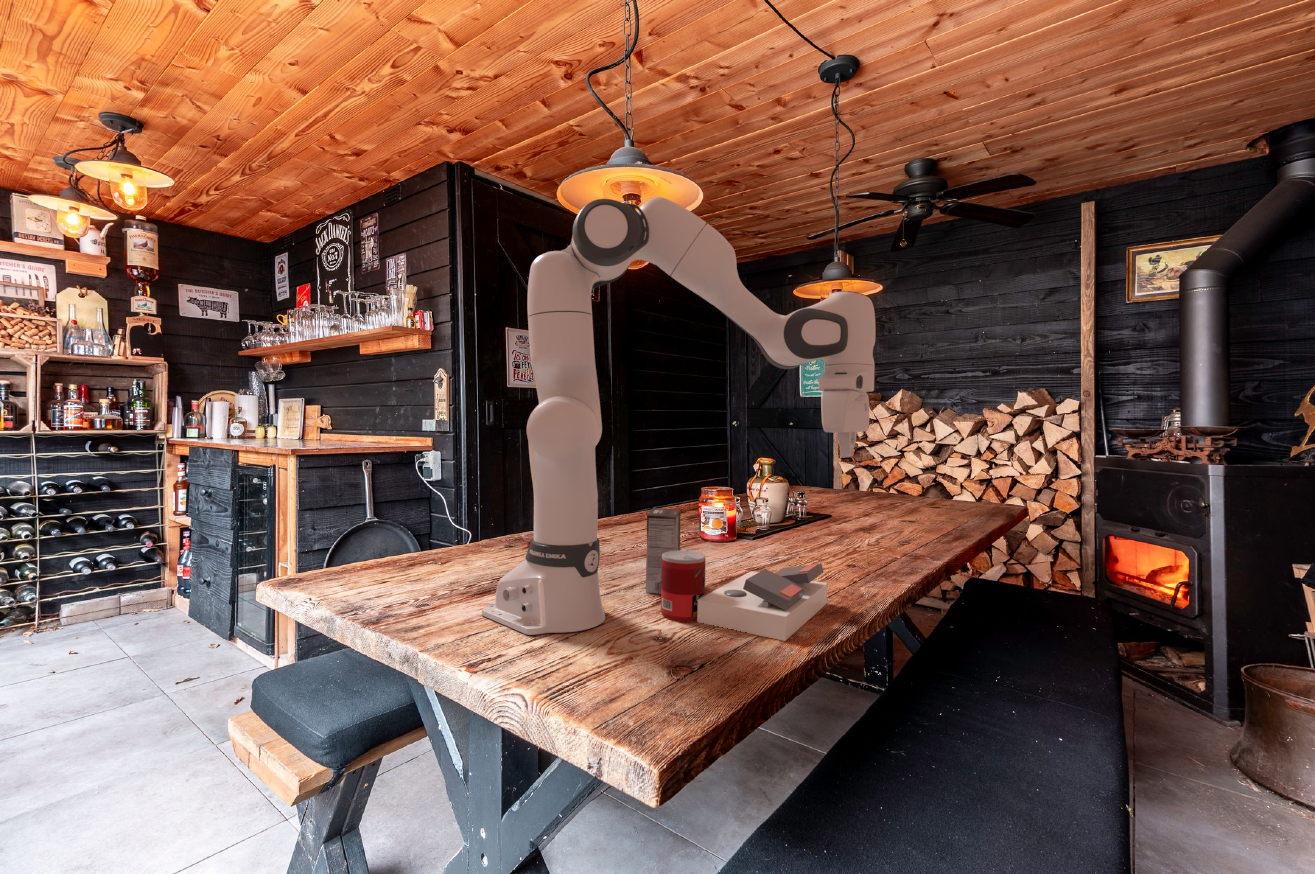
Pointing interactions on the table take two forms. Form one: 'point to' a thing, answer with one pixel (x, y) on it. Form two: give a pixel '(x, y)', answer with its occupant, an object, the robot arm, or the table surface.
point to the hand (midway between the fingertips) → (846, 456)
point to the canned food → (682, 584)
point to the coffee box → (660, 543)
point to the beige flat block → (759, 609)
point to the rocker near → (774, 589)
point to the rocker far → (801, 573)
